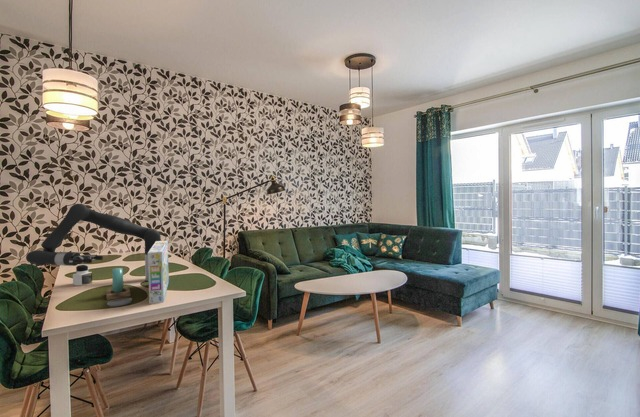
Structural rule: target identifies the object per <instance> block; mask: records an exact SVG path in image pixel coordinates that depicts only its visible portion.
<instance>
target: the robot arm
mask: <svg viewBox="0 0 640 417" xmlns="http://www.w3.org/2000/svg"><path fill="white" fill-rule="evenodd" d="M80 221H83V222H87V223H91V224H94V225H97V226H98V227H102V229H105V230H107V231H108V230H109V231H111V232H114V233H118V234H121V235H126V236H132V237H137V238H138V239H142V240H143V241H144V269H145V275H144V276H145V281H146V282H149V277H148V252H149V250H150V249H151V248H152V246H153V245H154V243H155V242H156V241H162V240H161V239H162V238H161V234H160V232H159V231H158V230H157V229H154V228H150V227H146V226H142V225H138V224H136V223H134V222H132V221H130V220H128V219H125V218H123V217H119V216H116V215H113V214H107V213H103V212H98V211H96V210H94V209H91V208H89V207H87V206H86V205H85V204H83V203H74V204H73V205H71V206H70V207H69V210H68V211H67V213H66V215H65V216H64V217H63V219H62V220H61V222H60V223H59V224H58V225H57V226H56V227H55V228H54V229H53V230H52V231H51V233H50V234H48V235H47V236H46V237H45V239H44V240H43V241H42V242H41V244H40V246H41V247H42V248H43V249H42V250H40V249H37V250H31V251H29V252H28V253H27V254H26V255H25V259H26V261H27V262H28V263H30V264H33V265H35V266H40V267H41V266H42V267H43V266H45V265H50V266H63V267H64V266H66V267H67V266H69V267H70V266H71V267H72V266H73V267H75V266H76V267H77V266H79V265H82V264H91V263H93V261H95V260H96V261H102V260H103V259H104V256H103V255H98V254H80V252H78V251H77V252H76V251H61V252H60V251H56V249H57V248H58V247H59V246H60V245H61V244H62V242H63V241H64V240H65V238H66V237H67V236H68V234H69V233H70V231H71V230H72V229H73V228H74V227H75V226H76V225H77V224H78V223H79V222H80Z"/></svg>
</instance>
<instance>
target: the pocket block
mask: <svg viewBox="0 0 640 417" xmlns="http://www.w3.org/2000/svg"><path fill="white" fill-rule="evenodd" d="M105 295H106V301H111V300H114V299H118V298H130V297H131V290H130V287H129V286H127V287H126V286H125V287H123V292H120V293H113V288H112V289H108V290H107V289H106V290H105Z"/></svg>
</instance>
